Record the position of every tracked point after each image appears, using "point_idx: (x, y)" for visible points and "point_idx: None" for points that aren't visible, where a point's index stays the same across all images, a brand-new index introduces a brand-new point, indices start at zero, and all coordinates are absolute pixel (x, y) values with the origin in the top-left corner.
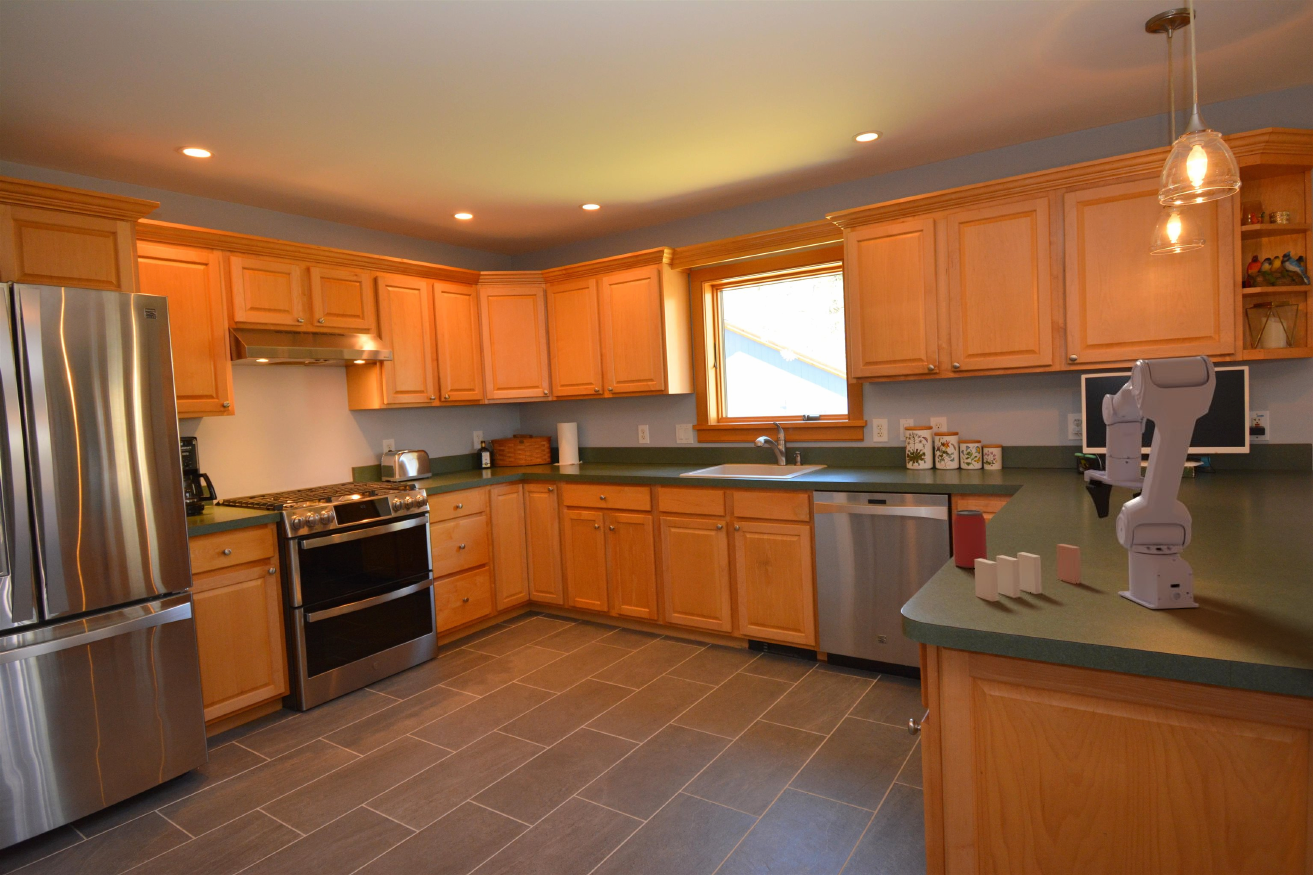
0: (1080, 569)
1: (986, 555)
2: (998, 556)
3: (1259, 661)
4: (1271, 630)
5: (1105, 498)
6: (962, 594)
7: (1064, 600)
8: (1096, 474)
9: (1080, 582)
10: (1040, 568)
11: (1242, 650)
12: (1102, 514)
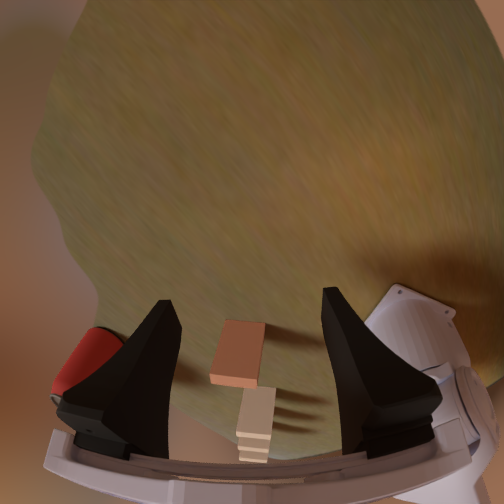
0: (262, 342)
1: (111, 350)
2: (241, 449)
3: (495, 379)
4: None
5: (151, 375)
6: (234, 424)
7: (317, 391)
8: (133, 501)
9: (264, 324)
10: (272, 418)
11: (489, 373)
12: (176, 334)
